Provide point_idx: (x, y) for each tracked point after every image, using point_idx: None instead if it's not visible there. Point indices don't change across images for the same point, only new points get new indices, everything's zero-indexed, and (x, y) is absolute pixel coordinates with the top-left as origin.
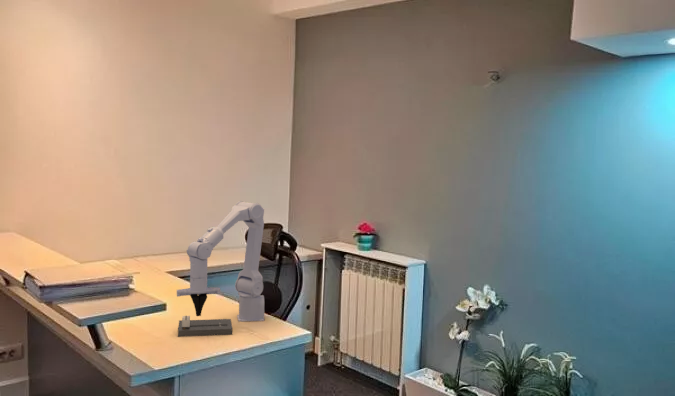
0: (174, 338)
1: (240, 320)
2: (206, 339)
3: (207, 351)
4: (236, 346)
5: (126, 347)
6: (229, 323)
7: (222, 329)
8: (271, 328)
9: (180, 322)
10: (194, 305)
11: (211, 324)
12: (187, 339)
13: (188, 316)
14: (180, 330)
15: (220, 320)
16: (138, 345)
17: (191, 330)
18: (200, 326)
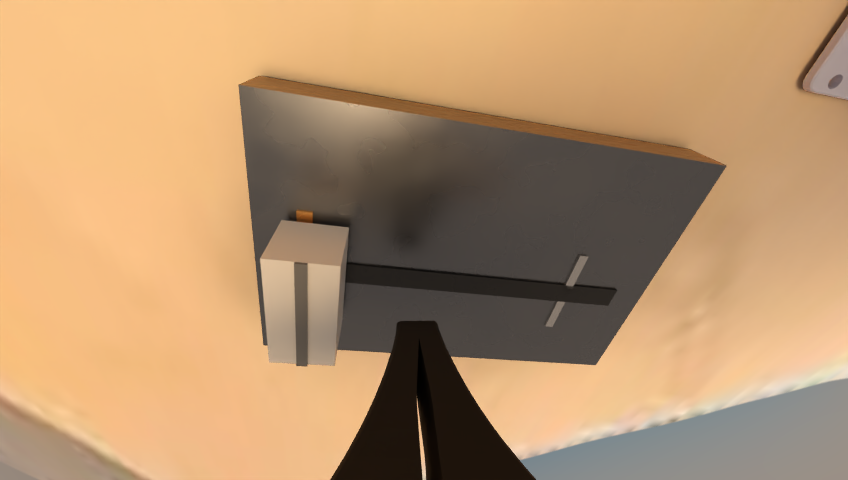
0: (257, 325)
1: (821, 93)
2: None
3: None
4: (527, 437)
5: (15, 393)
6: (640, 275)
7: (540, 360)
8: (837, 279)
9: (261, 164)
10: (377, 406)
11: (513, 271)
12: None
13: (325, 286)
14: None
15: (623, 190)
16: (72, 380)
17: (354, 350)
18: (424, 296)
